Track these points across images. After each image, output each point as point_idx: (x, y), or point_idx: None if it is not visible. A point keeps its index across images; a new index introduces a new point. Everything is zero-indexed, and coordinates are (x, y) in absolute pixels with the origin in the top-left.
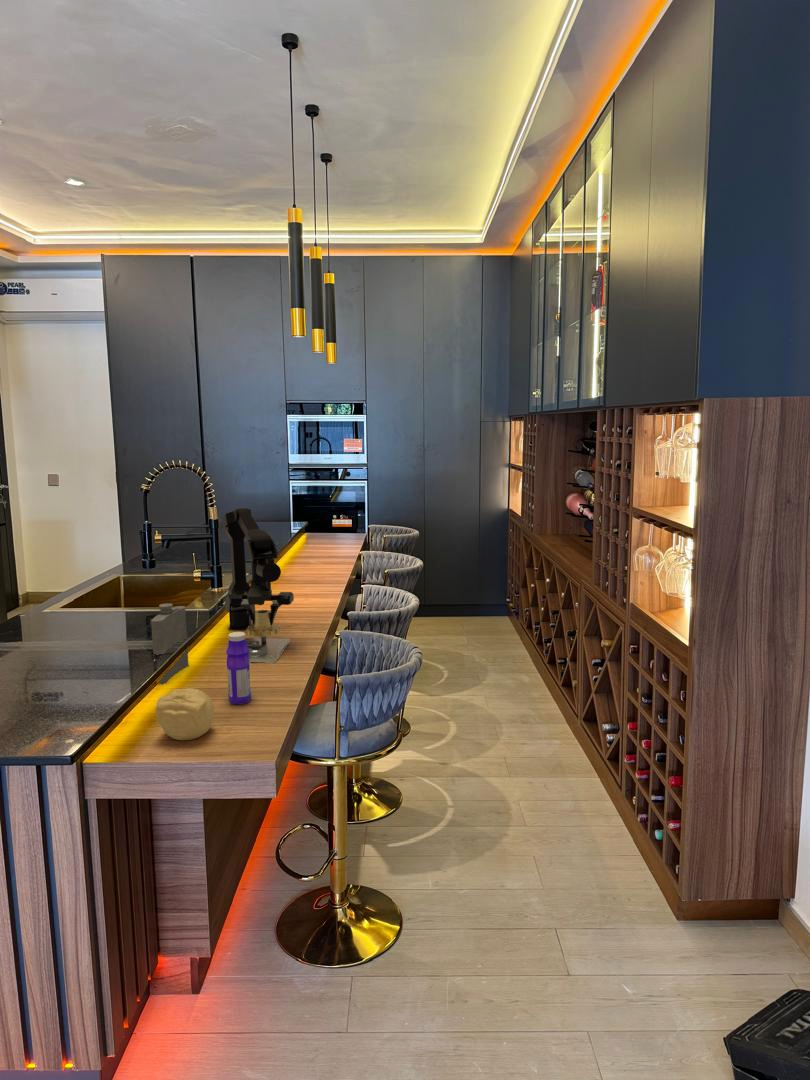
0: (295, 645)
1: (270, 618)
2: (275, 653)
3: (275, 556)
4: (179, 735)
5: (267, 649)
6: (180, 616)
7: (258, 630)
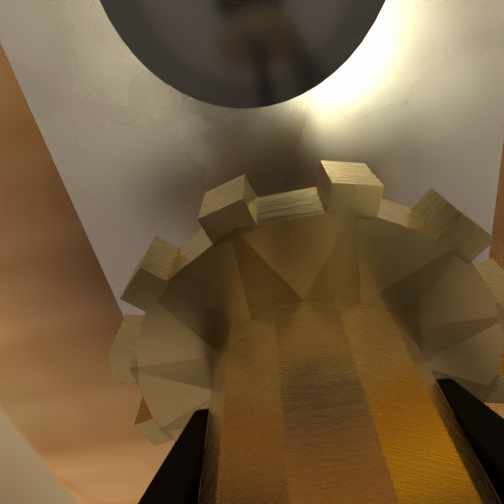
0: (91, 331)
1: (185, 501)
2: (25, 11)
3: None
4: None
5: (184, 125)
6: None
7: (325, 262)
